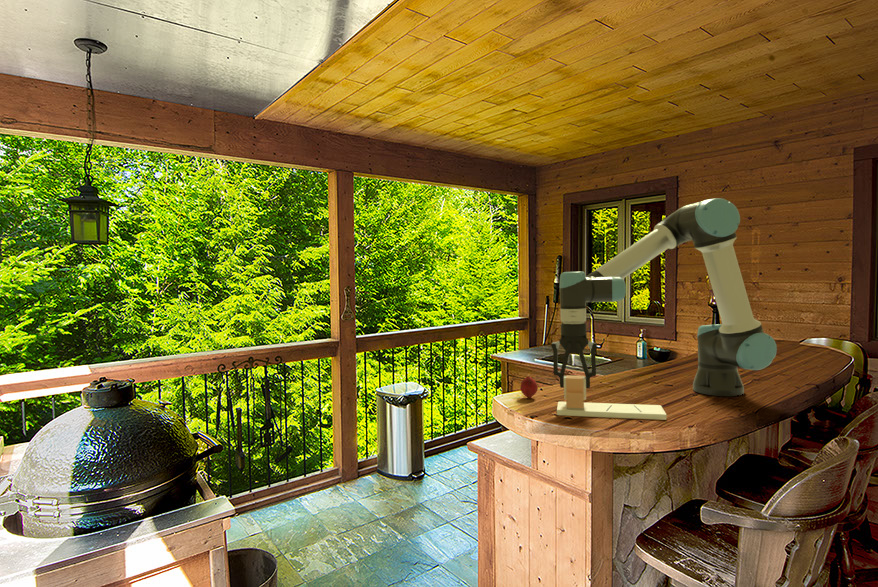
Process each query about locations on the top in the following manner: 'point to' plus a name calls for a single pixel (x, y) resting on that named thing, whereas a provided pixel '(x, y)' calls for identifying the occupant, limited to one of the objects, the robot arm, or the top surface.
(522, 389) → the onion
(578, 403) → the block
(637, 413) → the board
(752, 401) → the top surface
